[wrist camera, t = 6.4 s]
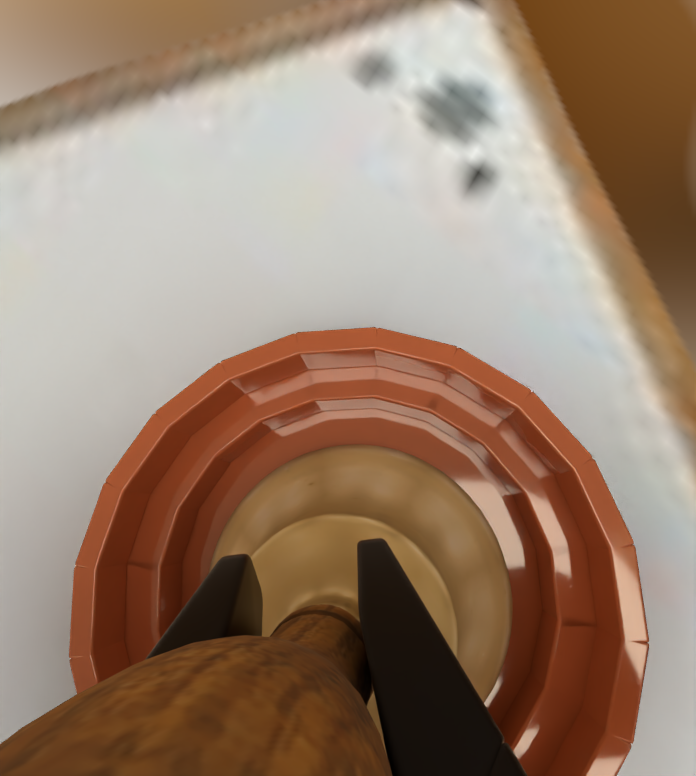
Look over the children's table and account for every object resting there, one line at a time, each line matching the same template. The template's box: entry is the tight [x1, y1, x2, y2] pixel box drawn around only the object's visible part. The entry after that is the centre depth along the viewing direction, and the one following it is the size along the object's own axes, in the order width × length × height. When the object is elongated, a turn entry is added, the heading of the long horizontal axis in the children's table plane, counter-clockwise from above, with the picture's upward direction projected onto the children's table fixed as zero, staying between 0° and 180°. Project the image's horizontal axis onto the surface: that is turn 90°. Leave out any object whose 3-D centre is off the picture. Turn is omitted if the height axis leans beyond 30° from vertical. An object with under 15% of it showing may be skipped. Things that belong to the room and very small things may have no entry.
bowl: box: [69, 327, 649, 776], centre depth 15 cm, size 13×13×4 cm
